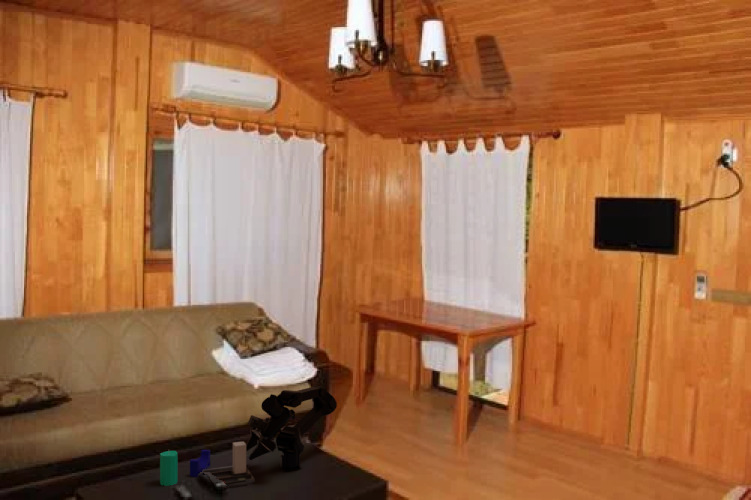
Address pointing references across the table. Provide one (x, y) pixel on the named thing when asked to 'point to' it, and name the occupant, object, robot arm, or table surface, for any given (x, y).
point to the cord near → (238, 484)
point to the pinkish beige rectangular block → (239, 459)
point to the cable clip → (200, 463)
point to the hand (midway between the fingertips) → (246, 454)
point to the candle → (168, 468)
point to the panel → (233, 477)
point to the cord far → (220, 469)
